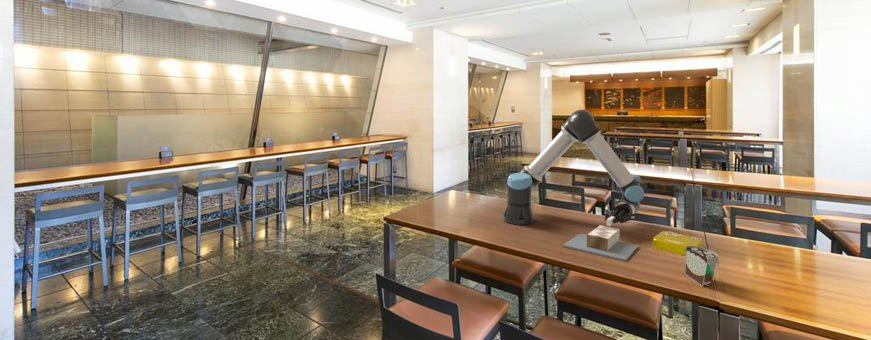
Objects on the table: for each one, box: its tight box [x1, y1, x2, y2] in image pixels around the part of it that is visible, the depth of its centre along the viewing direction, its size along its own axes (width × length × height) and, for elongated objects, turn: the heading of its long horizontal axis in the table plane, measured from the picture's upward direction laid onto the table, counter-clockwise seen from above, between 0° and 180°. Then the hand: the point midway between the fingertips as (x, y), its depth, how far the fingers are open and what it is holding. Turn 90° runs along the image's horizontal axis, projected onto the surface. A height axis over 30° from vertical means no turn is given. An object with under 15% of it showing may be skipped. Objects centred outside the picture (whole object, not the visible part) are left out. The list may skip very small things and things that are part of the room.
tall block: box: [586, 224, 621, 251], centre depth 162 cm, size 8×5×16 cm
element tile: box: [651, 230, 704, 257], centre depth 159 cm, size 15×15×5 cm
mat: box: [562, 232, 639, 263], centre depth 160 cm, size 24×19×1 cm
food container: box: [684, 246, 720, 287], centre depth 129 cm, size 12×6×10 cm, turn 179°
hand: (608, 222), depth 165 cm, fingers closed
